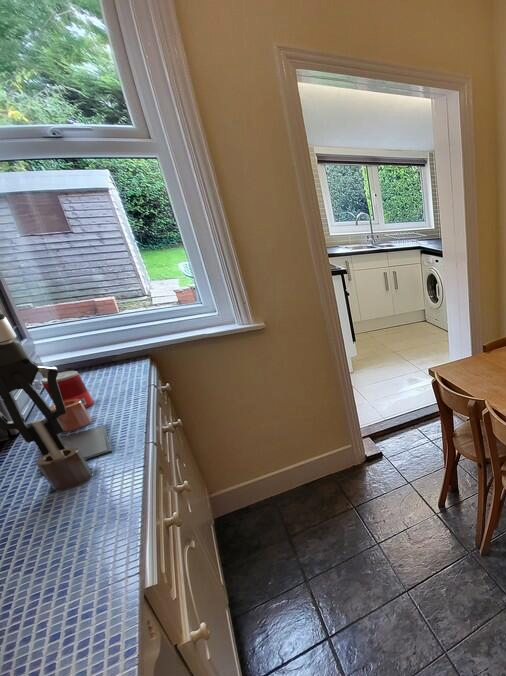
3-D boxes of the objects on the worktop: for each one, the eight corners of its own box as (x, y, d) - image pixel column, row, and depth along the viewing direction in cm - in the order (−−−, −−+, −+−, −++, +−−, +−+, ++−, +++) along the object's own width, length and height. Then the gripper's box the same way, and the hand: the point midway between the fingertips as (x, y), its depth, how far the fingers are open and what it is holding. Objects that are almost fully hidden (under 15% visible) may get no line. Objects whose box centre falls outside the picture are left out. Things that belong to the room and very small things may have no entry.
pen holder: (54, 433, 111) (40, 411, 108) (74, 422, 117) (62, 400, 114) (80, 431, 112) (67, 408, 109) (98, 419, 118) (86, 398, 115)
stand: (45, 493, 87) (27, 466, 84) (70, 475, 93) (54, 449, 90) (77, 489, 87) (60, 462, 85) (101, 471, 93) (86, 445, 90)
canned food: (100, 400, 130) (83, 368, 125) (85, 411, 123) (66, 378, 118) (70, 405, 128) (52, 373, 123) (53, 417, 121) (33, 383, 116)
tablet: (113, 453, 100) (111, 450, 100) (43, 477, 92) (40, 473, 92) (105, 427, 113) (103, 424, 113) (43, 446, 105) (41, 443, 105)
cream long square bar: (64, 483, 89) (27, 423, 83) (72, 478, 91) (35, 419, 84) (73, 482, 89) (37, 422, 83) (80, 477, 91) (45, 418, 85)
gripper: (-79, 360, 70) (0, 473, 79) (45, 337, 79) (102, 441, 89) (-71, 351, 74) (3, 459, 84) (45, 331, 84) (99, 430, 94)
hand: (54, 449), depth 87 cm, fingers closed on cream long square bar, 2 cm apart
